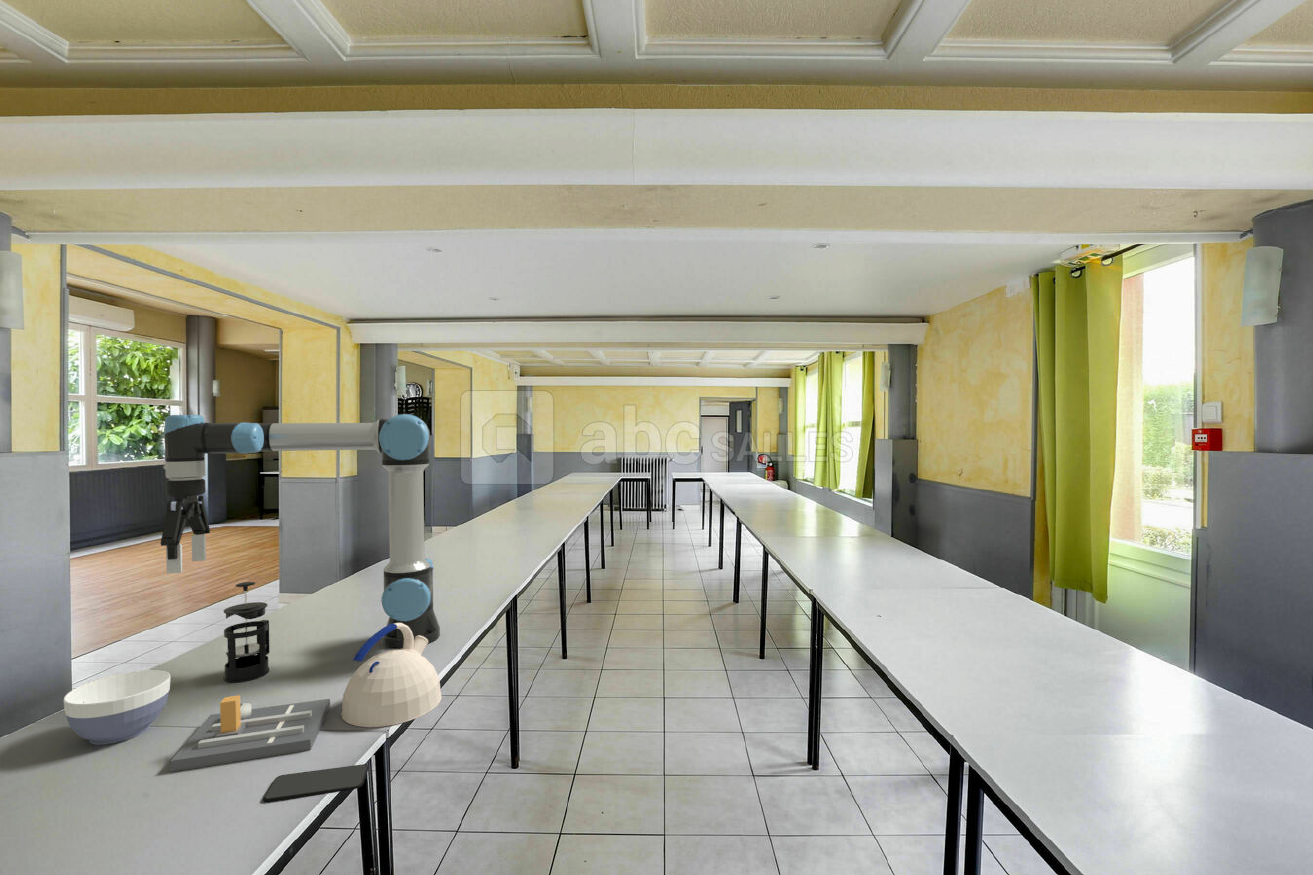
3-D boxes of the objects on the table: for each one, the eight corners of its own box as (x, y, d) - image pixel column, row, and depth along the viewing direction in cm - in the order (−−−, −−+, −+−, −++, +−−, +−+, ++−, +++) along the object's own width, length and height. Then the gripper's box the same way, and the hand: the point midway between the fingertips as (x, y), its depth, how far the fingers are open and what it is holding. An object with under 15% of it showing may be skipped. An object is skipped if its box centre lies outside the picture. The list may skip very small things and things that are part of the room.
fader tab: (245, 727, 117) (245, 692, 117) (237, 738, 113) (237, 702, 113) (224, 730, 116) (223, 695, 116) (215, 741, 112) (214, 705, 112)
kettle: (461, 691, 137) (460, 614, 137) (395, 735, 118) (393, 645, 117) (391, 680, 144) (390, 606, 144) (317, 719, 124) (316, 634, 124)
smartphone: (361, 785, 100) (260, 800, 96) (361, 791, 100) (260, 805, 96) (370, 762, 108) (276, 774, 103) (370, 767, 108) (276, 780, 103)
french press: (246, 684, 141) (245, 589, 141) (211, 683, 143) (209, 588, 142) (283, 665, 153) (281, 576, 153) (250, 663, 154) (248, 575, 154)
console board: (330, 707, 130) (329, 688, 130) (310, 749, 113) (310, 727, 112) (210, 724, 123) (210, 704, 123) (170, 771, 106) (170, 748, 105)
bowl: (80, 763, 108) (78, 711, 108) (53, 739, 117) (52, 691, 117) (184, 726, 122) (183, 680, 122) (154, 707, 130) (153, 664, 130)
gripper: (189, 475, 153) (190, 556, 154) (140, 483, 130) (142, 580, 130) (223, 474, 156) (224, 554, 156) (181, 482, 132) (183, 577, 133)
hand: (187, 566), depth 143 cm, fingers open, 13 cm apart
